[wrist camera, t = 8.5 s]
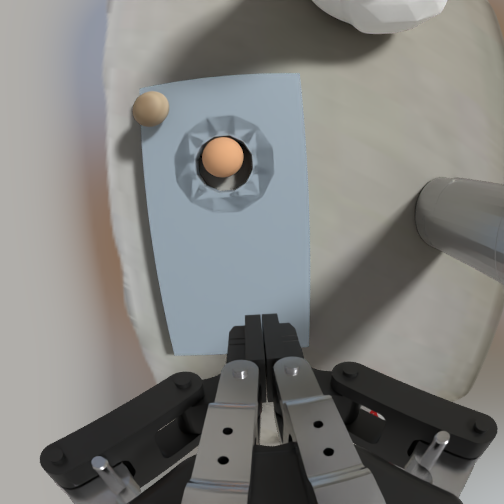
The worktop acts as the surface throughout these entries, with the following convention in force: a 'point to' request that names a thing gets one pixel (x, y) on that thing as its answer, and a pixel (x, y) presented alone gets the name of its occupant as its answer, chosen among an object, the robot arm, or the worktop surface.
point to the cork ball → (150, 109)
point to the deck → (229, 209)
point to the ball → (222, 157)
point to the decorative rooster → (382, 13)
